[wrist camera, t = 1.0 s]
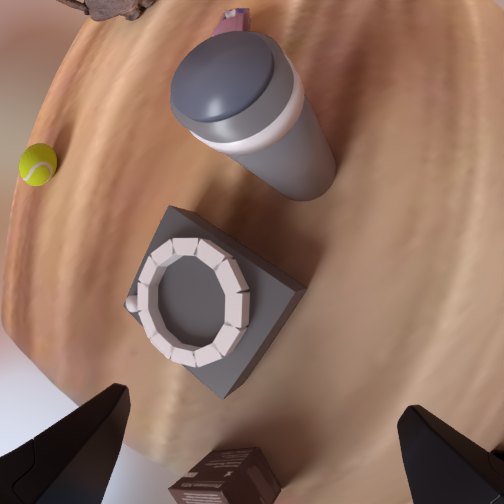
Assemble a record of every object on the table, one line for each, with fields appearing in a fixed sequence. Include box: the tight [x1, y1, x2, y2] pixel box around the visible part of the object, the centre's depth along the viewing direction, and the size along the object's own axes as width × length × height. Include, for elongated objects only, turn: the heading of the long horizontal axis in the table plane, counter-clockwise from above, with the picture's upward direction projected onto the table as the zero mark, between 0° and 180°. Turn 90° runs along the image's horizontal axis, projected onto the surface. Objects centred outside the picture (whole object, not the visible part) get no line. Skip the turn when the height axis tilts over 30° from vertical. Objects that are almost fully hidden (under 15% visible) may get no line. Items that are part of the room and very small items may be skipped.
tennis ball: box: [19, 143, 57, 186], centre depth 35 cm, size 7×7×7 cm
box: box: [168, 448, 281, 504], centre depth 20 cm, size 6×6×7 cm
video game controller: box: [212, 8, 251, 37], centre depth 23 cm, size 10×5×7 cm
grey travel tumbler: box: [170, 31, 336, 201], centre depth 16 cm, size 5×5×14 cm
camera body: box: [124, 205, 307, 400], centre depth 23 cm, size 12×10×5 cm
